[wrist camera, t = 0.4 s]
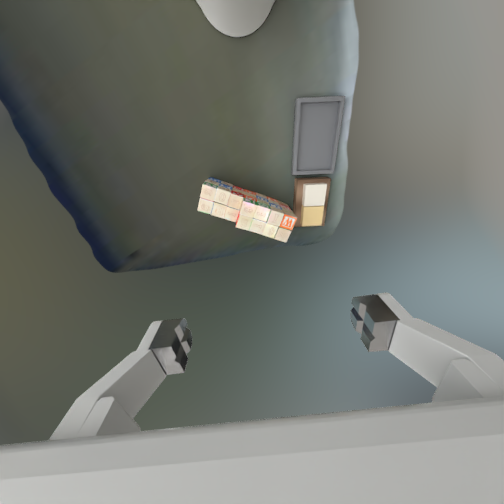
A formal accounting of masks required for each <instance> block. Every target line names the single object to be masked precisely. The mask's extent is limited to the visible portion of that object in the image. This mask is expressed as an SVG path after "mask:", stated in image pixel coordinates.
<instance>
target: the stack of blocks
mask: <svg viewBox="0 0 504 504" xmlns="http://www.w3.org/2000/svg"><path fill="white" fill-rule="evenodd" d="M198 211H201V212H204V213H207V214H211V215H213V216H217V217H220V218H224V219H226V220H230V221H233V222H236V227H237V228H241V229H244V230H247V231H252V232H255V233H259V234H262V235H264V236H267V237H271V238H274V239H276V240H280V241H283V242H287V239H288V237H289V235H290V233H291V230H292V229H293V227H294V225H295V222H296V220H297V217H296V216H295V214H294V213H293V211H292V210H291V209H290V208H289V206H288V205H287V204H286V203H283V202H280V201H278V200H276V199H273V198H270V197H267V196H264V195H262V194H259V193H254V192H252V191H249V190H246V189H242V188H240V187H237V186H233V185H232V184H229V183H227V182H224V181H220V180H218V179H215V178H212V177H209V178H208V179H207V180H206V181H205V182H204V183H203V186H202V191H201V195H200V201H199V206H198Z"/></svg>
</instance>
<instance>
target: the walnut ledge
mask: <svg viewBox="0 0 504 504" xmlns="http://www.w3.org/2000/svg"><path fill="white" fill-rule="evenodd" d="M330 182H331V178H328V177H310V178H295V186H294V202H293V213H294V214H295V216H296V217H297V220H296V222H295V225H294V227H305V226H302V225H301V224H300V221H301V209H302V197H303V185H304V184H308V183H326V184H327V189H326V196H325V203H324V211H323V218H322V225H319V226H324V223H325V216H326V209H327V202H328V196H329V189H330Z"/></svg>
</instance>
